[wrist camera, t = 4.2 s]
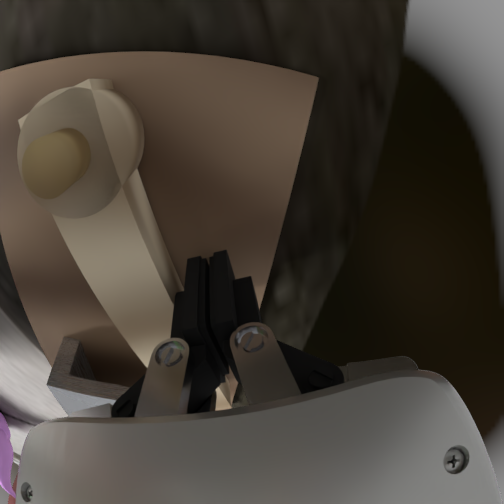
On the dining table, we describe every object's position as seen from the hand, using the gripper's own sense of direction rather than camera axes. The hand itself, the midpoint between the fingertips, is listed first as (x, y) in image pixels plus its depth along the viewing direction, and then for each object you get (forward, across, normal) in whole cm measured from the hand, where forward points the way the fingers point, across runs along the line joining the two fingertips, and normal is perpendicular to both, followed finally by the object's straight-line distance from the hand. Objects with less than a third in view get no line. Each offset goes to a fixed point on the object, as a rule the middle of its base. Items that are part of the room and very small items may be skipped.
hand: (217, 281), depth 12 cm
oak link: (+1, +3, 0) cm, 3 cm away
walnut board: (+2, +5, +1) cm, 6 cm away
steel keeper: (+2, +9, +7) cm, 11 cm away
